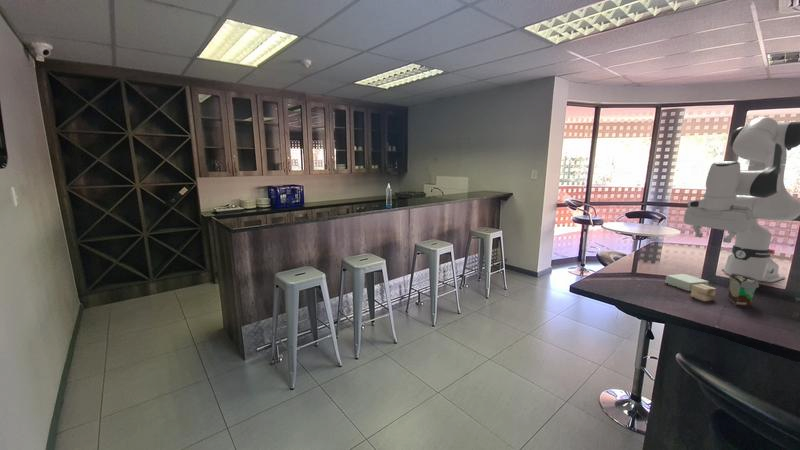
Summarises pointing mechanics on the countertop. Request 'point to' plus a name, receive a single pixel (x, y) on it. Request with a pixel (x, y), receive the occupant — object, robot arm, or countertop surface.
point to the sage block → (684, 281)
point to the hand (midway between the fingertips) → (712, 239)
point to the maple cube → (703, 292)
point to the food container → (742, 289)
